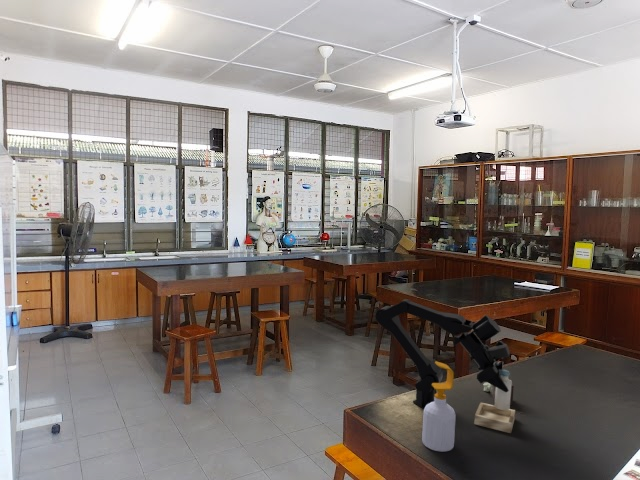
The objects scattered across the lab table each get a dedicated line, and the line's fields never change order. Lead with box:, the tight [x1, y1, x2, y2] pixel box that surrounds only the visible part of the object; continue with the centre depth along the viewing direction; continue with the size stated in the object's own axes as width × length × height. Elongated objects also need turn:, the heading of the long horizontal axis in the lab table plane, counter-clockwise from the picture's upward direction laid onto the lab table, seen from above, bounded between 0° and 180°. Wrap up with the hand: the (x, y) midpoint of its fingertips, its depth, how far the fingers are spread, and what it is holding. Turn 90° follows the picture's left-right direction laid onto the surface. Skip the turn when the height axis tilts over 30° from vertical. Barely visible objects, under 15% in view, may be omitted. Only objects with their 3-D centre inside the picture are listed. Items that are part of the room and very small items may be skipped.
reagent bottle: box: [493, 369, 513, 410], centre depth 146 cm, size 5×5×12 cm
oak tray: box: [473, 402, 516, 434], centre depth 148 cm, size 11×11×3 cm
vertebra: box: [482, 382, 493, 396], centre depth 171 cm, size 6×7×4 cm
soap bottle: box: [421, 360, 457, 453], centre depth 132 cm, size 9×9×25 cm
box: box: [491, 383, 514, 406], centre depth 163 cm, size 6×6×7 cm
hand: (508, 388), depth 145 cm, fingers closed on reagent bottle, 5 cm apart
